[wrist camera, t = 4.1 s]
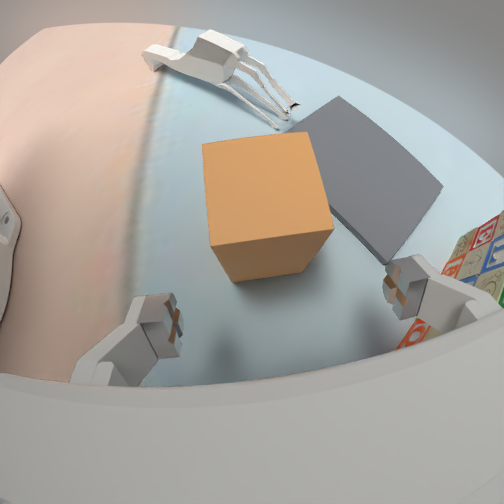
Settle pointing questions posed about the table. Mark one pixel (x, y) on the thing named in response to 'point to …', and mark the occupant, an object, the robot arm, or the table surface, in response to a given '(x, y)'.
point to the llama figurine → (220, 68)
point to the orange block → (265, 204)
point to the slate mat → (368, 177)
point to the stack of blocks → (471, 270)
